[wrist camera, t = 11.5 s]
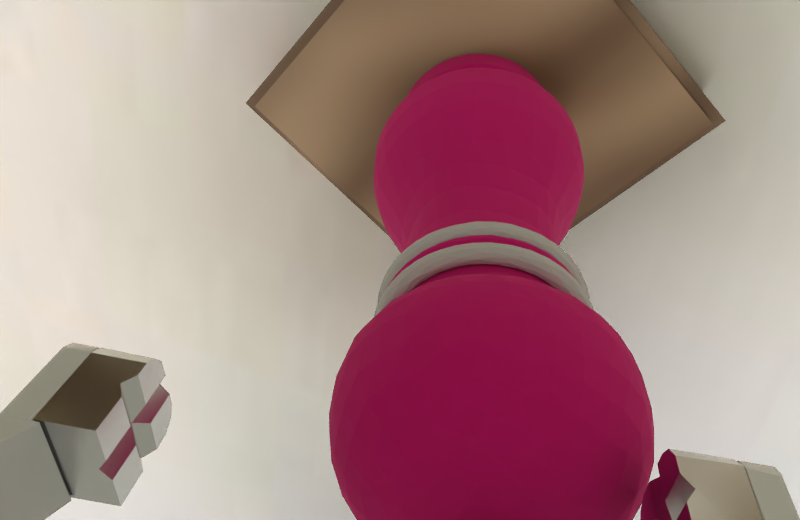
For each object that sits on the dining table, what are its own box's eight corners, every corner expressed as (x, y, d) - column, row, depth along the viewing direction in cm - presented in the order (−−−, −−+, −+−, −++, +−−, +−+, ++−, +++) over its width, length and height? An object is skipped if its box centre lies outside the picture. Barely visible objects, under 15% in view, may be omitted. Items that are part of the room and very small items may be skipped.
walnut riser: (702, 93, 27) (728, 124, 23) (468, 265, 33) (461, 308, 30) (489, -175, 23) (483, -184, 20) (274, 80, 30) (242, 105, 26)
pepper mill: (413, 15, 23) (268, 416, 6) (595, 69, 23) (935, 585, 6) (369, 183, 27) (208, 711, 10) (526, 226, 27) (625, 803, 10)
